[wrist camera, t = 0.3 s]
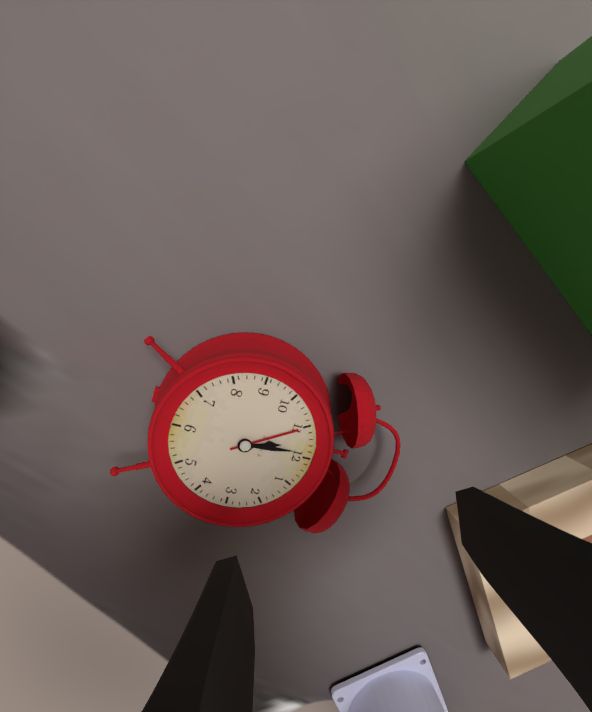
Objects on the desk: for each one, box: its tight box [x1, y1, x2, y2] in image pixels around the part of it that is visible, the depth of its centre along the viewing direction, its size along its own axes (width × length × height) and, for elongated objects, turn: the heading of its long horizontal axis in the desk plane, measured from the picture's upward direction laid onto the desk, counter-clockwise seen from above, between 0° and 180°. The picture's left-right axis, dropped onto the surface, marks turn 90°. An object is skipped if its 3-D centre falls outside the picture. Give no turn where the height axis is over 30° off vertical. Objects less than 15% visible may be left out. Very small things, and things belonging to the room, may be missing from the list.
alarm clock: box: [110, 332, 400, 533], centre depth 17 cm, size 10×6×15 cm
